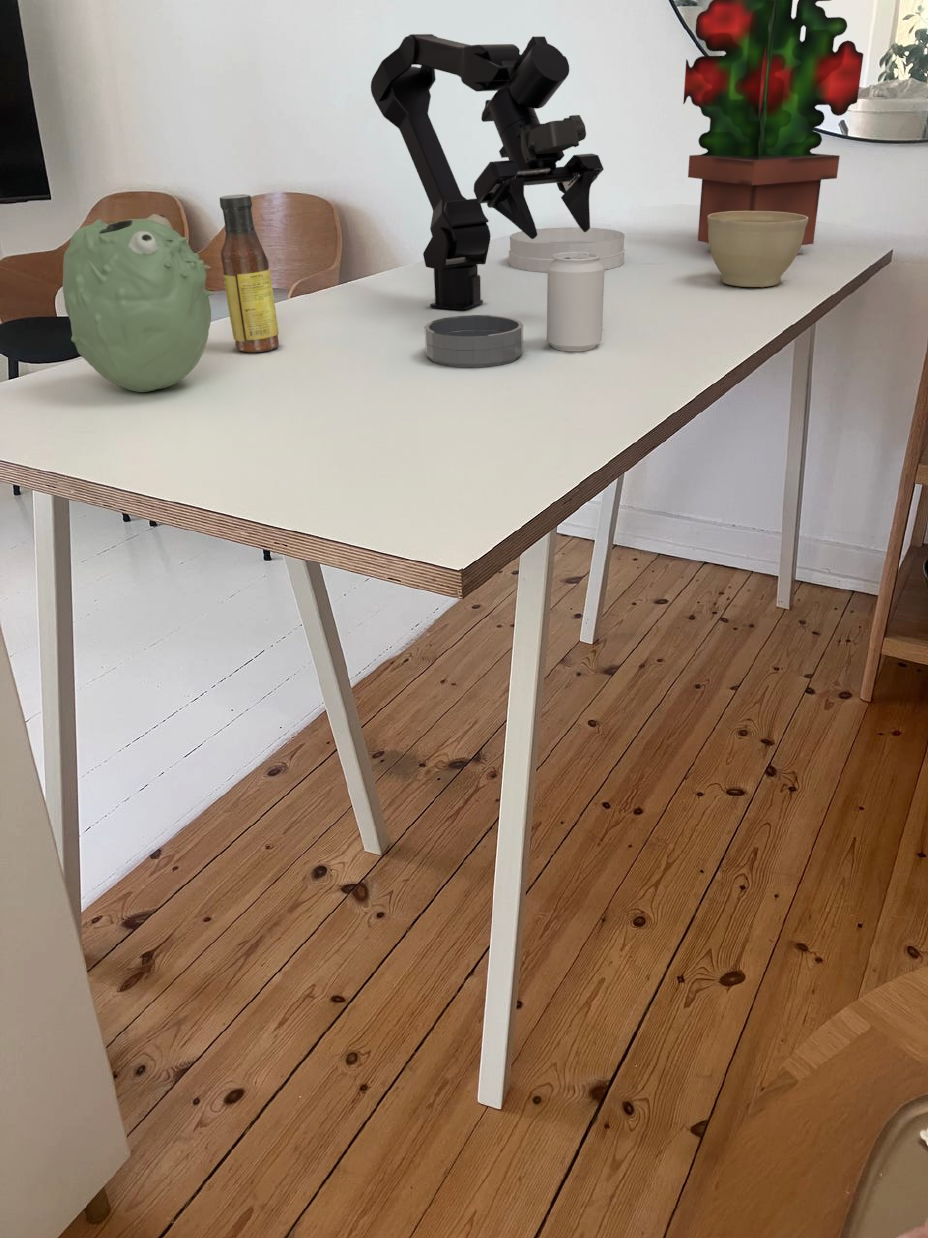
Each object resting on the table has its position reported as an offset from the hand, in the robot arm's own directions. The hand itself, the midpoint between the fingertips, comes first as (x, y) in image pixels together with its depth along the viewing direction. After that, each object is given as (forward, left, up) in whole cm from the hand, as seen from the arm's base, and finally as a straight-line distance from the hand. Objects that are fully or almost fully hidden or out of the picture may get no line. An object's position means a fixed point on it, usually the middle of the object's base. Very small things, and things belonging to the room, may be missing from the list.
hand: (561, 233), depth 144 cm
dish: (-23, +56, -14) cm, 62 cm away
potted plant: (+7, +79, -14) cm, 80 cm away
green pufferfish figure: (-34, -46, -14) cm, 59 cm away
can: (+5, -6, -14) cm, 16 cm away
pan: (-5, -16, -13) cm, 22 cm away
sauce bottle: (-35, -24, -14) cm, 45 cm away
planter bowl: (+15, +47, -14) cm, 51 cm away
